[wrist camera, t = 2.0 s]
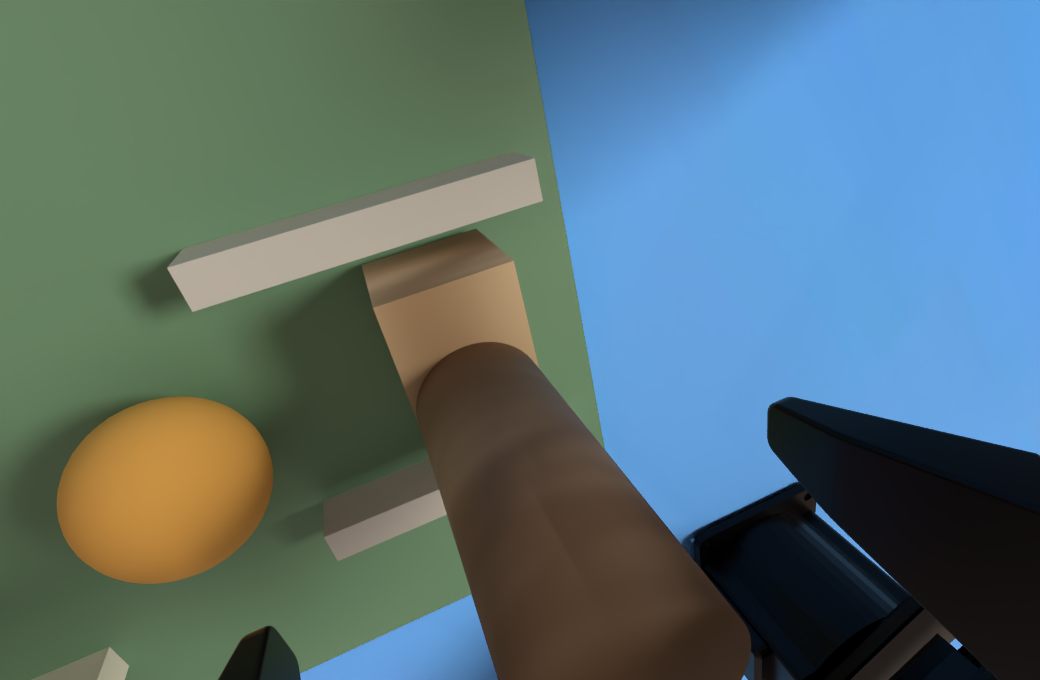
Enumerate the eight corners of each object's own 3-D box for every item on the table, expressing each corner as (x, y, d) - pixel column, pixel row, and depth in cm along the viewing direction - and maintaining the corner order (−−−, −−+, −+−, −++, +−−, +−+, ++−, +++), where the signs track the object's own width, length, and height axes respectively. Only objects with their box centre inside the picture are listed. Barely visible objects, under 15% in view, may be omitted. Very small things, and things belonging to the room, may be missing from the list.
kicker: (475, 228, 14) (750, 463, 5) (524, 412, 16) (751, 758, 8) (361, 265, 13) (451, 602, 4) (432, 448, 16) (570, 867, 7)
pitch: (486, -118, 12) (524, -164, 10) (606, 508, 21) (638, 554, 19) (-1079, 169, 7) (-1659, 200, 5) (-33, 798, 17) (-83, 900, 15)
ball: (235, 343, 13) (207, 433, 10) (302, 463, 15) (298, 573, 12) (58, 402, 12) (-42, 523, 9) (152, 521, 14) (101, 658, 11)
